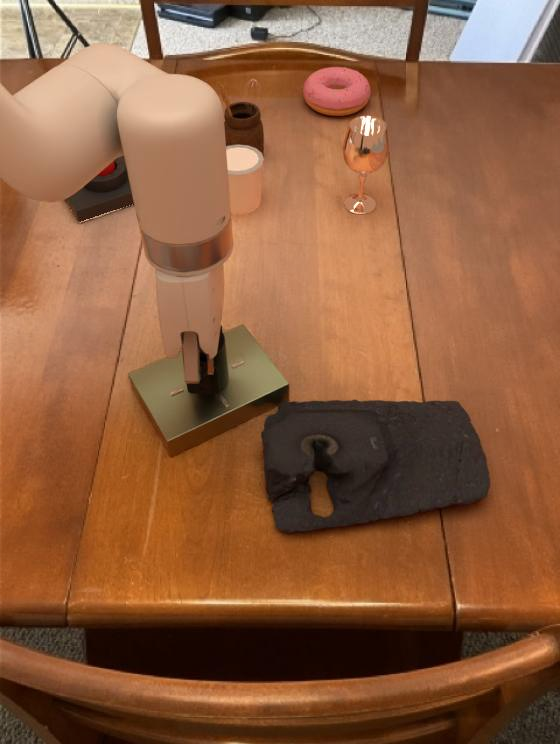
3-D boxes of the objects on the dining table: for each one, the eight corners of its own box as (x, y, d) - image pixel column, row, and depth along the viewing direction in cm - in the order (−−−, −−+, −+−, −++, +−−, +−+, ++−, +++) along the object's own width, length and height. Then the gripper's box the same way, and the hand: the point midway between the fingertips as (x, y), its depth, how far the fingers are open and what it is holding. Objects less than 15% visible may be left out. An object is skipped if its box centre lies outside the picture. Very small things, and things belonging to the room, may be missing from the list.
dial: (226, 395, 70) (222, 355, 65) (184, 394, 70) (176, 354, 65) (230, 362, 73) (226, 322, 68) (189, 361, 73) (182, 321, 68)
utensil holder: (271, 156, 102) (270, 79, 92) (236, 170, 100) (231, 93, 90) (250, 138, 105) (247, 61, 96) (215, 151, 103) (208, 74, 93)
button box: (79, 224, 92) (72, 200, 89) (55, 186, 97) (47, 162, 94) (160, 196, 96) (156, 172, 93) (132, 161, 101) (128, 136, 98)
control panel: (171, 457, 69) (166, 440, 66) (132, 390, 74) (127, 372, 72) (289, 400, 73) (289, 382, 71) (244, 341, 79) (243, 322, 76)
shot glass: (226, 222, 92) (222, 179, 87) (208, 194, 96) (204, 151, 91) (272, 209, 94) (272, 166, 88) (253, 182, 98) (251, 139, 92)
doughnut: (362, 125, 107) (364, 100, 104) (294, 114, 109) (295, 90, 106) (375, 90, 114) (378, 66, 110) (311, 81, 116) (312, 57, 112)
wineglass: (374, 189, 96) (384, 111, 87) (385, 214, 93) (396, 136, 84) (335, 194, 96) (340, 115, 87) (344, 219, 92) (350, 140, 83)
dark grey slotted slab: (498, 530, 64) (511, 506, 60) (263, 538, 63) (262, 514, 59) (465, 399, 73) (474, 371, 69) (261, 405, 73) (259, 377, 69)
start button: (94, 180, 92) (91, 169, 91) (85, 166, 94) (82, 155, 93) (119, 172, 93) (117, 161, 92) (109, 159, 95) (107, 148, 94)
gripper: (157, 171, 62) (181, 312, 76) (124, 305, 51) (159, 439, 65) (239, 173, 61) (248, 313, 76) (223, 307, 51) (237, 440, 65)
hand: (206, 370), depth 70 cm, fingers closed on dial, 4 cm apart
